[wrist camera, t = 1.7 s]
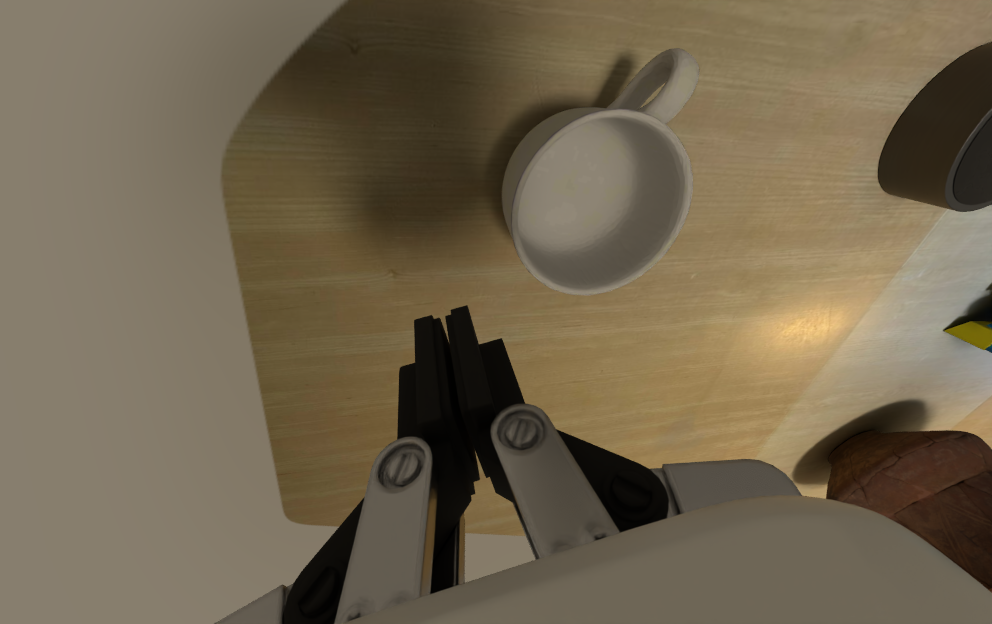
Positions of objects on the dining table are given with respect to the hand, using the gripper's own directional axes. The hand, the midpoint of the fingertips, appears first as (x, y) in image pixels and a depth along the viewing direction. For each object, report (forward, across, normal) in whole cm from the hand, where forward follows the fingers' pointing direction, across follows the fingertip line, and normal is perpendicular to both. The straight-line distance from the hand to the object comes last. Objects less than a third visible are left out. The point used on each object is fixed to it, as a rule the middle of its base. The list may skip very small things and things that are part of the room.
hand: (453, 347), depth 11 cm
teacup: (+17, -11, 0) cm, 20 cm away
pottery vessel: (+17, -64, +64) cm, 93 cm away
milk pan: (+17, -49, +8) cm, 52 cm away
